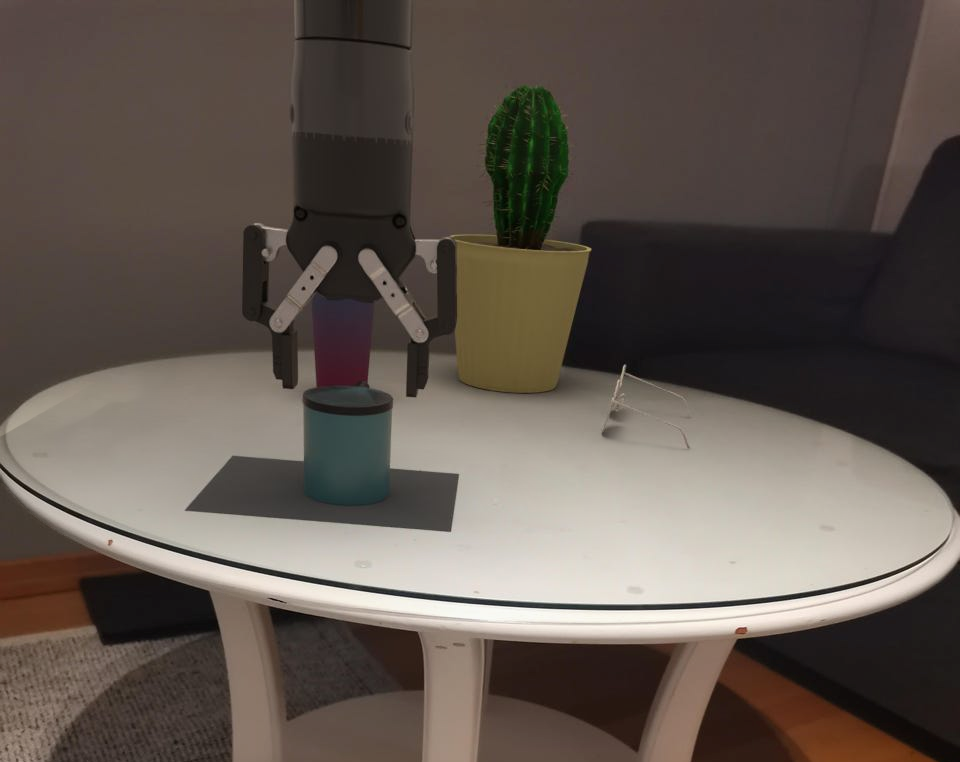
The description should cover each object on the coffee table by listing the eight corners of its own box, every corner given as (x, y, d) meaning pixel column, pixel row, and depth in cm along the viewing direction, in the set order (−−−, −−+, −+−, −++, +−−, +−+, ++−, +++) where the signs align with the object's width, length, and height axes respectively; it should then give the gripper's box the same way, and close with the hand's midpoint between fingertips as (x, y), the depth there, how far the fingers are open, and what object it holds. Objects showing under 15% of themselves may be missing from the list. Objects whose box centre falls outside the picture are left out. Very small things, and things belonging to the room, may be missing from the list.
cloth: (184, 515, 66) (184, 510, 65) (232, 460, 77) (232, 455, 77) (450, 536, 66) (451, 531, 66) (458, 478, 77) (459, 473, 77)
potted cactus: (583, 376, 116) (618, 89, 103) (564, 404, 103) (601, 78, 89) (458, 361, 119) (477, 79, 105) (424, 386, 105) (439, 66, 92)
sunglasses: (611, 406, 104) (625, 360, 101) (687, 429, 103) (703, 383, 101) (598, 438, 91) (614, 387, 89) (685, 464, 91) (703, 413, 88)
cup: (318, 404, 95) (318, 239, 88) (300, 387, 100) (299, 231, 94) (384, 402, 98) (389, 242, 91) (363, 386, 103) (366, 234, 96)
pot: (295, 502, 68) (294, 402, 65) (322, 455, 79) (323, 368, 76) (384, 509, 69) (388, 410, 65) (400, 462, 79) (404, 374, 76)
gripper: (468, 139, 64) (454, 386, 72) (252, 123, 64) (261, 372, 71) (464, 138, 58) (449, 411, 65) (223, 120, 57) (236, 396, 65)
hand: (351, 390), depth 68 cm, fingers open, 8 cm apart
